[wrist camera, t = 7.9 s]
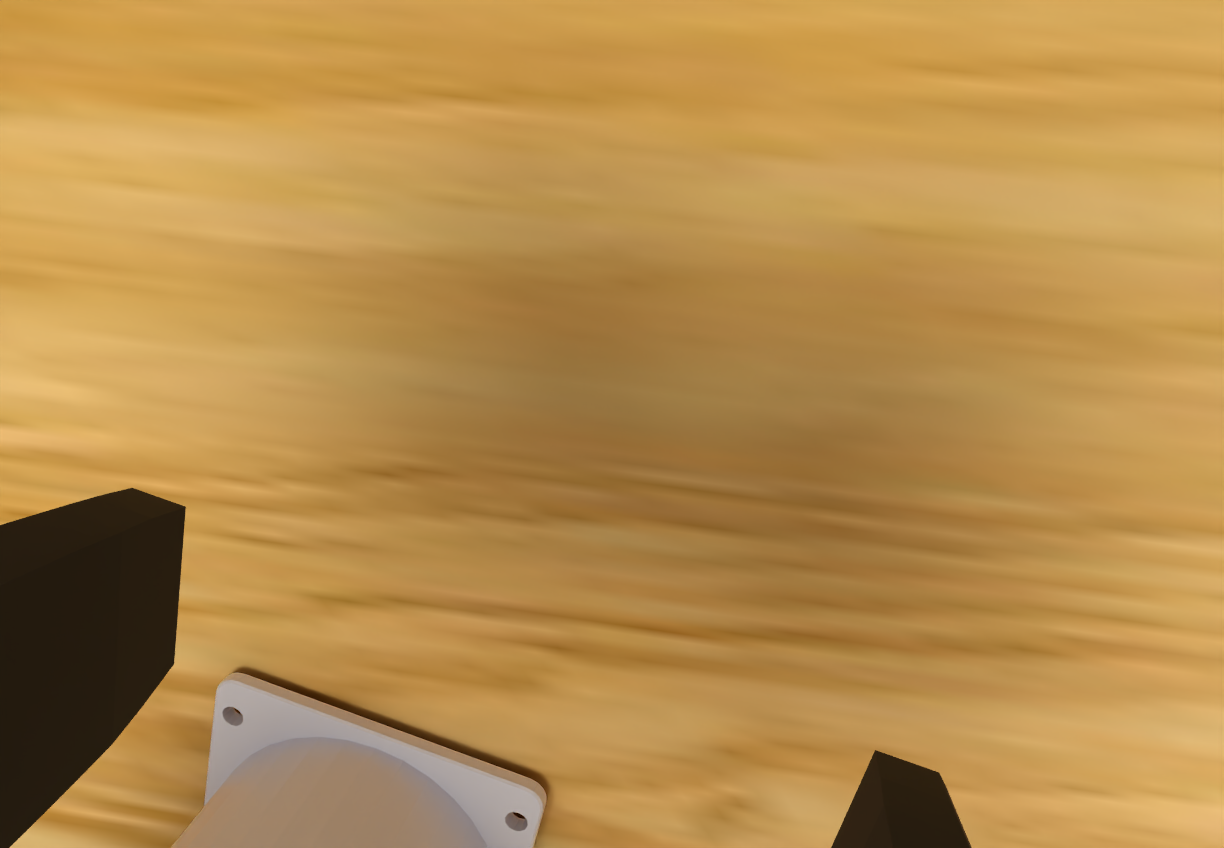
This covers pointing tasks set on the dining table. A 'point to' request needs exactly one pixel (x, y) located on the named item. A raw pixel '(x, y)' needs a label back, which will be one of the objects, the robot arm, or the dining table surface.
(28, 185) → the dining table surface
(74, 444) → the dining table surface
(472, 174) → the dining table surface
